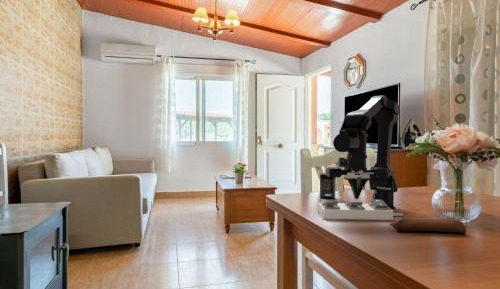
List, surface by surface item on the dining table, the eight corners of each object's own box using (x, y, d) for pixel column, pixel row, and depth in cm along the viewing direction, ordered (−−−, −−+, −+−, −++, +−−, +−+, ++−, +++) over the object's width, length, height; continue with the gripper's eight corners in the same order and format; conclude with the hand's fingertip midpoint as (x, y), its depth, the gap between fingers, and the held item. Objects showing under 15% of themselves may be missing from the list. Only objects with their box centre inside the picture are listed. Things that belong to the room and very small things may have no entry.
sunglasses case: (449, 225, 92) (456, 209, 88) (460, 244, 86) (468, 228, 82) (386, 224, 93) (391, 207, 90) (394, 242, 87) (399, 226, 84)
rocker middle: (357, 204, 105) (357, 201, 105) (362, 205, 100) (362, 202, 100) (347, 204, 105) (347, 201, 105) (351, 204, 100) (351, 201, 100)
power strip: (396, 212, 108) (396, 202, 108) (409, 220, 98) (409, 209, 98) (318, 211, 109) (318, 201, 109) (323, 218, 99) (323, 207, 99)
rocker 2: (381, 202, 105) (381, 199, 105) (387, 208, 100) (387, 205, 99) (370, 201, 105) (371, 199, 105) (376, 208, 100) (376, 205, 100)
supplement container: (333, 196, 137) (333, 173, 137) (337, 199, 130) (337, 174, 130) (318, 196, 137) (318, 172, 137) (321, 199, 131) (321, 174, 130)
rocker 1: (334, 204, 106) (334, 201, 106) (337, 204, 100) (337, 201, 101) (323, 203, 106) (323, 201, 106) (326, 204, 101) (326, 201, 101)
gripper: (377, 150, 108) (376, 194, 108) (323, 150, 109) (323, 193, 109) (389, 151, 97) (389, 201, 97) (329, 151, 98) (329, 200, 98)
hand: (356, 198), depth 101 cm, fingers closed
